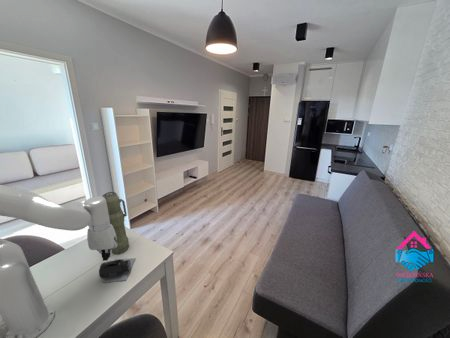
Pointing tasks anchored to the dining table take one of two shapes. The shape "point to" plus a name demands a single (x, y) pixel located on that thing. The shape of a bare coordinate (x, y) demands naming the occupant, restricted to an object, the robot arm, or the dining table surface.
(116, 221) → the thermos
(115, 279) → the mat
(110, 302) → the dining table surface
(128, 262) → the supplement bottle
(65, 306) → the dining table surface
